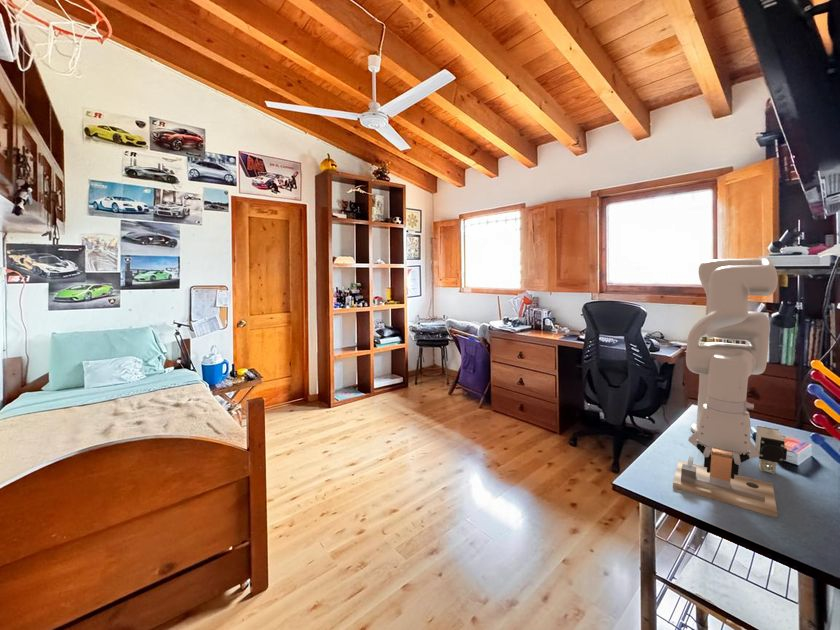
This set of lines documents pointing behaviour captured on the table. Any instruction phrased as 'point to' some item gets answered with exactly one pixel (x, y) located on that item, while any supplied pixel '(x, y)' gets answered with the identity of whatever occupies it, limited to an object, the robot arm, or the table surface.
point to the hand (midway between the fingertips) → (720, 472)
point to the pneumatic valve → (770, 448)
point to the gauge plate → (739, 494)
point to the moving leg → (720, 468)
